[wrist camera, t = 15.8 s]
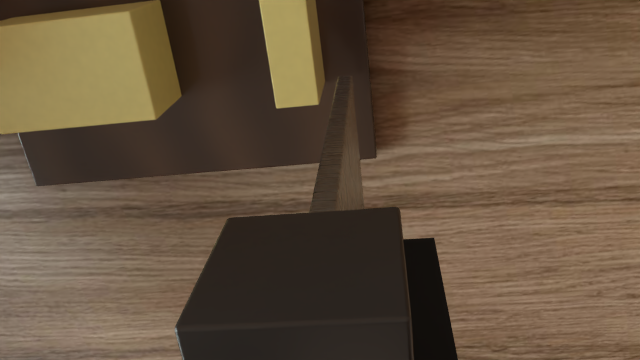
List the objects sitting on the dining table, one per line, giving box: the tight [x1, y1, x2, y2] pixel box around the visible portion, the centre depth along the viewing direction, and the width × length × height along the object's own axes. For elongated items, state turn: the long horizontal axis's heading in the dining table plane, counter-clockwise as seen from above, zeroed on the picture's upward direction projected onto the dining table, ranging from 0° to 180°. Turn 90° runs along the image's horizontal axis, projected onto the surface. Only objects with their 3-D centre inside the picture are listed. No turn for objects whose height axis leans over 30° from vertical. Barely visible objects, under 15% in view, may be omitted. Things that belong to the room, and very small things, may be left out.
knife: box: [175, 75, 414, 360], centre depth 12 cm, size 9×2×11 cm, turn 7°
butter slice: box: [259, 0, 325, 108], centre depth 26 cm, size 2×5×4 cm, turn 7°
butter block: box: [0, 0, 182, 134], centre depth 28 cm, size 8×5×4 cm, turn 97°
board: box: [0, 0, 377, 186], centre depth 30 cm, size 20×14×1 cm
